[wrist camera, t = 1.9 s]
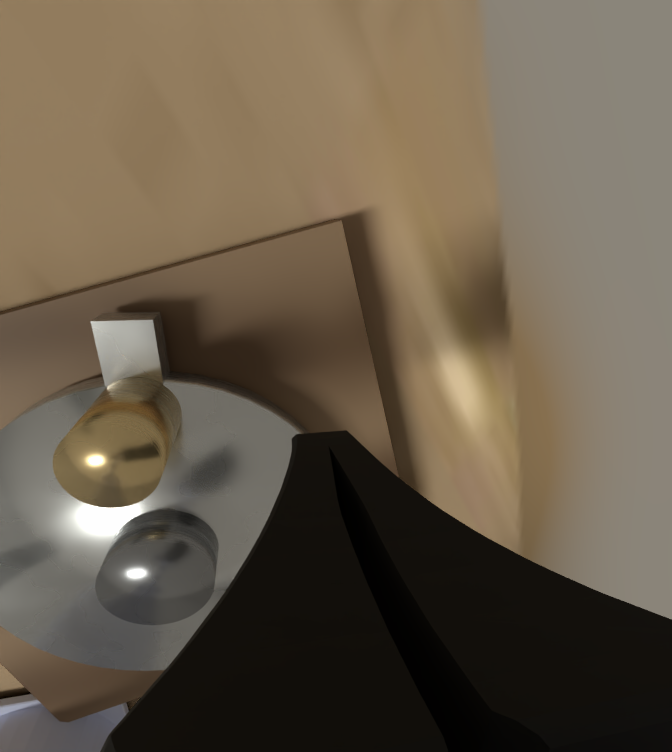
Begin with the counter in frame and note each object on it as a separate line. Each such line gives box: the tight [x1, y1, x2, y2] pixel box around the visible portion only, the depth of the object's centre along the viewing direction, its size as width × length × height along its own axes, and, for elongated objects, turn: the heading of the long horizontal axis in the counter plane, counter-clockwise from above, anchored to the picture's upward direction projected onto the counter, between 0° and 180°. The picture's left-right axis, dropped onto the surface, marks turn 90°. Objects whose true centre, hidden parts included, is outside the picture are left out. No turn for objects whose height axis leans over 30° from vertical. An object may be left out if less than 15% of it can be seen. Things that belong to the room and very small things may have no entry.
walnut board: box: [0, 219, 399, 722], centre depth 15 cm, size 18×18×3 cm
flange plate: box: [0, 311, 309, 671], centre depth 13 cm, size 15×13×4 cm
